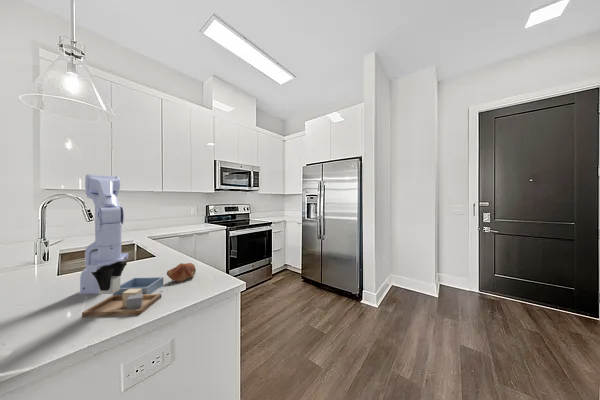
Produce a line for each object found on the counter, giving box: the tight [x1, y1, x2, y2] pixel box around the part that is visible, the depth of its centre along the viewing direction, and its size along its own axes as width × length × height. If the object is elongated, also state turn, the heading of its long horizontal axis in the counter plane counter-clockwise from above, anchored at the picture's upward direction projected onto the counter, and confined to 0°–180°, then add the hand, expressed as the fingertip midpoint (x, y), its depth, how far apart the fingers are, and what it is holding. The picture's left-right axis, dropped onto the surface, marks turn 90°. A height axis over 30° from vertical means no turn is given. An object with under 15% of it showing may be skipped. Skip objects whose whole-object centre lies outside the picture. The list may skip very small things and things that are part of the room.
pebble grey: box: [98, 276, 121, 295], centre depth 71 cm, size 4×3×4 cm
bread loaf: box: [166, 262, 197, 283], centre depth 97 cm, size 13×8×10 cm
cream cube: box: [122, 289, 142, 307], centre depth 73 cm, size 4×3×4 cm
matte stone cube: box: [127, 294, 143, 310], centre depth 70 cm, size 4×3×4 cm
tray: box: [81, 293, 162, 318], centre depth 72 cm, size 16×12×2 cm
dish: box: [112, 276, 164, 295], centre depth 84 cm, size 11×11×4 cm
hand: (109, 287), depth 71 cm, fingers closed on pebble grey, 3 cm apart
